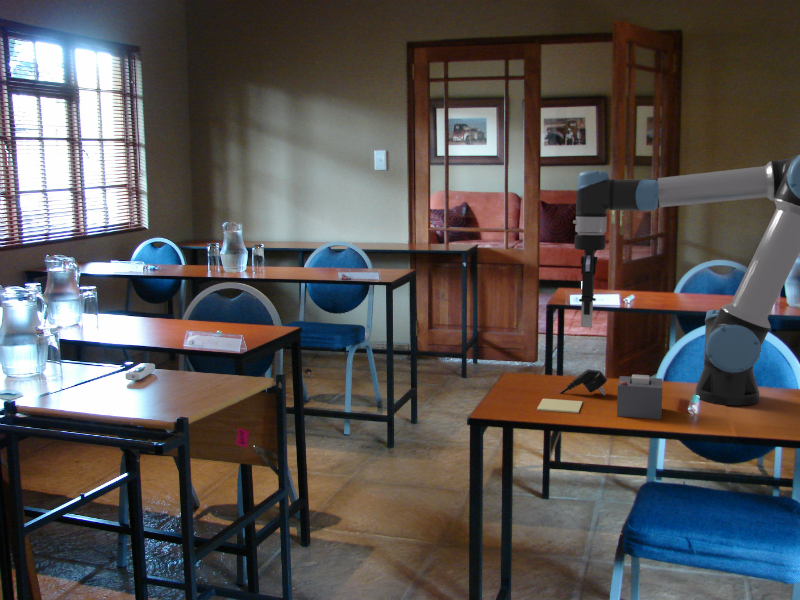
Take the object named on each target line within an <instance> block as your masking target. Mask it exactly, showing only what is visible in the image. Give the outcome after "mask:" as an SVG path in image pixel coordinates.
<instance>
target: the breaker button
mask: <svg viewBox="0 0 800 600" xmlns="http://www.w3.org/2000/svg"><path fill="white" fill-rule="evenodd" d="M631 377H632V383H631V384H646V385H649V378H650V375H648V374H632V375H631Z"/></svg>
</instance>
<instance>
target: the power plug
mask: <svg viewBox="0 0 800 600" xmlns="http://www.w3.org/2000/svg"><path fill="white" fill-rule="evenodd" d="M607 381H608V379H607V378H606V376H605V375H604V374H603V372H602V371H601V370H594V369H586V370H585V371H582V373H580V374H579V375H578V376H576V377H575V378H574V379H572V381H570V383H569V384H567V387H565V388H563V389H562V390H561V391H560V392H559V394H560V395H561V394H564V393H565V392H567V391H568V390H569V391H570V390H572V389H574V388H576V387H578V386H580V385H583V386H584V387H585V388H586V390H587V391H588V392H589V393H593V392H595V391H596V390H598V391H599V392H600V394H601V395H602V396H606V390H605V389H604V388H603V387H602V386H604V385H605V384H606V383H607Z"/></svg>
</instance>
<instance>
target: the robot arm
mask: <svg viewBox="0 0 800 600" xmlns="http://www.w3.org/2000/svg"><path fill="white" fill-rule="evenodd" d="M576 185H577V186H576V192H575V193H576V197H575V219H574V220H573V221H572V224H574V225H575V229H574V230H575V231H574V232H575V233H576V234H575V235H574V245H573V246H574V248H575V249H576V250H580V251H583V254H584V255H582V256H581V257H580V264H581V266H580V267H581V270H580V271H581V272H580V274H581V275H582V281H581V282H582V283H581V285H582V286H581V297H580V298H579V299H578V302H581V309H580V311H581V312H580V327H581V328H590V329H591V328H592V327H593V311H594V309H593V308H594V302H596V300H597V298H595V297H594V289H595V287H594V285H595V275H596V272H597V264H598V258H599V257H598V256H595V255H596V253H595V251H604V250H605V249H606V237H607V236H606V235H605V233H607V223H608V222H607V221H608V216H607V215H608V213H607V211H637V212H647V211H652V212H653V211H656V210H657V209H658V208H666V207H677V206H678V207H679V206H686V205H687V206H688V205H697V204H698V205H700V204H709V203H719V202H721V203H722V202H728V201H729V202H730V201H738V200H739V201H740V200H742V201H743V200H750V199H762V198H767V199H769V200H770V201H772V202H774V204H775V206H776V208H775V211H774V213H773V215H772V217H771V219H770V221H769V223H768V226H767V227H766V230H765V231H764V234H763V236H762V238H761V240H760V242H759V244H758V247H757V249H756V250H755V252H754V255H753V257H752V259H751V261H750V263H749V265H748V267H747V270H746V271H745V274H744V275H743V277H742V279H741V281H740V283H739V286H738V287H737V289H736V291H735V294H734V295H733V298H732V300H731V301H730V303H726V304H725V305H722V306H721V307H720V309H709V310H707V312H706V315H705V318H704V323H705V328H704V329H705V332H704V334H705V335H704V357H703V369H702V371H701V374H700V376H699V379H698V382H697V384H696V387H695V396H696V395H699V396H700V399H699V400H701V401H704V402H706V403H711V404H716V405H724V406H750V405H755V404H757V403H759V402H760V390H759V387H758V383H757V380H756V376H755V373H754V365H755V364H756V363H757V362H758V360H759V358H760V356H761V352H762V345H763V343H764V341H765V340H766V337H767V335H768V334H769V331H770V329H771V327H772V326H771V324H770V322H769V316H770V313H771V311H772V310H773V307H774V305H775V304H776V302H777V300H778V297H779V295H780V293H781V291H782V289H783V287H784V285H785V283H786V281H787V279H788V277H789V275H790V273H791V271H792V269H793V267H794V265H795V264H796V262H797V261H796V260H797V259H798V258H799V255H800V154H797V155H795V156H792V157H789V158H785V159H779V160H770V161H769V162H767V163H766V165H764V166H763V165H762V166H754V167H745V168H736V169H735V168H734V169H728V170H718V171H711V172H702V173H701V172H700V173H693V174H691V173H690V174H685V175H684V174H683V175H674V176H667V177H657V178H648V179H647V178H644V179H643V178H642V179H611V178H610V177H609V172H608V171H602V170H599V171H596V170H595V171H594V170H591V171H590V170H589V171H588V170H587V171H581V172H579V174H578V176H577V184H576Z"/></svg>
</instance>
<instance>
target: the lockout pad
mask: <svg viewBox="0 0 800 600" xmlns="http://www.w3.org/2000/svg"><path fill="white" fill-rule="evenodd" d="M582 404H583V400H571V399H570V400H569V399H568V400H567V399H555V398H554V399H553V398H542V400H541V401H540V402H539V404H538V406H537V408H536V411H543V412H555V413H568V414H569V413H571V414H572V413H573V414H579V413H580V410H581V409H582V408H581V407H582Z"/></svg>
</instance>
